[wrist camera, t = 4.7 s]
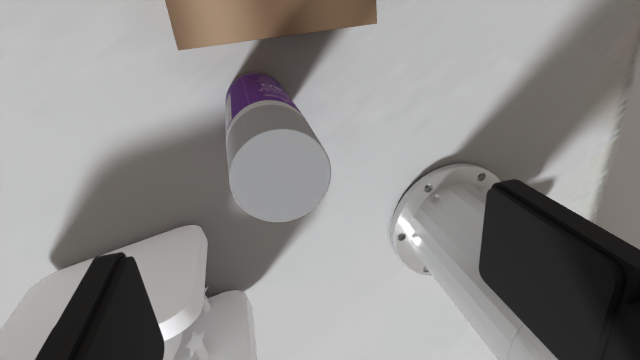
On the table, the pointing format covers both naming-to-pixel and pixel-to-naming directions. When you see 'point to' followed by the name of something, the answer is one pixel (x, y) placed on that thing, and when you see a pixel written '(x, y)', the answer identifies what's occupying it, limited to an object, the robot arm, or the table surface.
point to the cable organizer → (165, 296)
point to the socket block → (261, 19)
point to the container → (272, 152)
